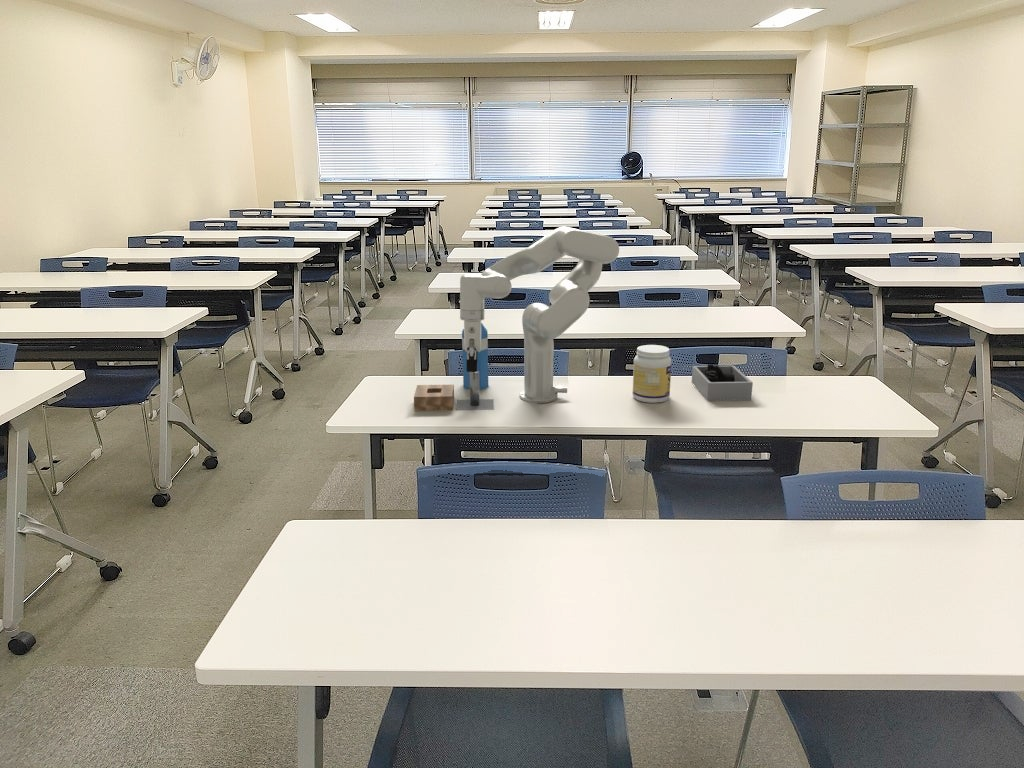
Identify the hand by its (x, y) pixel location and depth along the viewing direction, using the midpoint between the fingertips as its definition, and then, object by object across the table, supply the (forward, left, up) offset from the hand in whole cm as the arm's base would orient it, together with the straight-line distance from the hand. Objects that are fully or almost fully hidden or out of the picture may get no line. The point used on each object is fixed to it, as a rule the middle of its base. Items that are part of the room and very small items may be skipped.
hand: (472, 367), depth 234 cm
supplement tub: (-59, -5, -13) cm, 60 cm away
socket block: (+12, -1, -13) cm, 18 cm away
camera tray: (-84, -11, -13) cm, 85 cm away
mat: (-1, 0, -13) cm, 13 cm away
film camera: (-83, -11, -13) cm, 85 cm away
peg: (-1, 0, -13) cm, 13 cm away
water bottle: (-1, -20, -13) cm, 24 cm away
